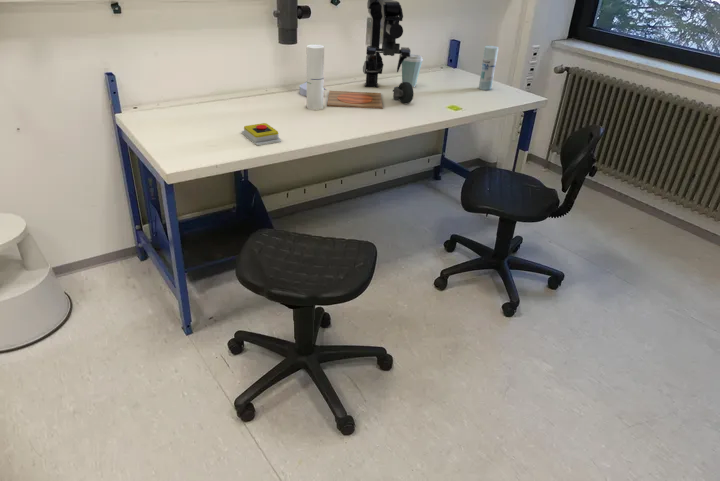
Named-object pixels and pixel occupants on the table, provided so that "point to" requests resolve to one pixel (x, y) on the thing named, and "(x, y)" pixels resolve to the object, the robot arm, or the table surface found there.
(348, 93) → the wooden board
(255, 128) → the emergency button
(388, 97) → the table surface
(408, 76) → the disposable coffee cup
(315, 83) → the cylindrical container
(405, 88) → the caster wheel
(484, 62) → the spray paint can
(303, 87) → the wedge on round base
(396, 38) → the robot arm
